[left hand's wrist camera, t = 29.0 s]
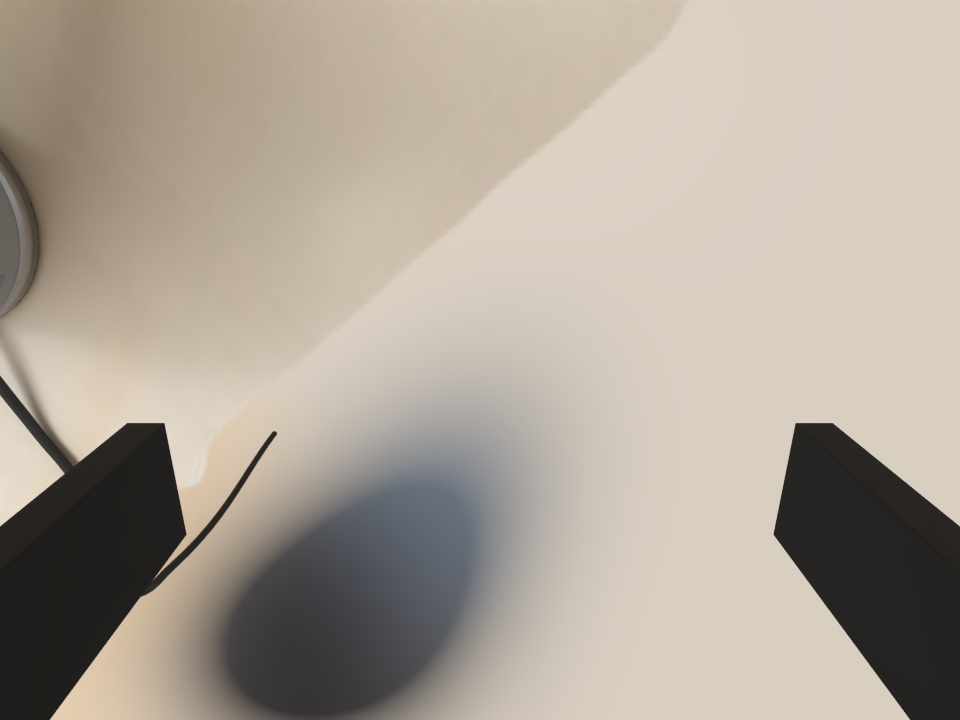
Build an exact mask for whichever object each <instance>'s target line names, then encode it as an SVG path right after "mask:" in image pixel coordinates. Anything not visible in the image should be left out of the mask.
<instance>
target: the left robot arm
mask: <svg viewBox="0 0 960 720" xmlns="http://www.w3.org/2000/svg"><path fill="white" fill-rule="evenodd" d="M38 253H39V236H38V229H37V223H36V218H35V214H34V211H33V208H32V205H31V202H30V199H29V197H28V194H27V192H26V190H25V188H24V186H23V184H22V182H21V180H20V178H19V177H18V175H17V173H16V172H15V170H14V169H13V167H12V166H11V164H10V163H9V162H8V160H7V159H6V157H5V156H4V155H3V154H2V153H1V151H0V317H1V316H3V315H4V314H6V313H7V312H8V311H10V310H11V309H12V308H13V307H14V306H15V305H16V304H17V303H18V302H19V301H20V300H21V299H22V297H23V296H24V295H25V293H26V291H27V290H28V288H29V286H30V284H31V282H32V280H33V277H34V274H35V271H36V267H37V261H38ZM0 395H1V397H2V398H3V399H4V400H5V402H6V403H7V404H8V405H9V407H10V408H11V409H12V410H13V412H14V413H15V414H16V415H17V416H18V418H19V419H20V420H21V421H22V423H23V424H24V425H25V426H26V428H27V429H28V430H29V431H30V433H31V434H32V435H33V436H34V438H35V439H36V440H37V441H38V442H39V444H40V445H41V446H42V447H43V448H44V449H45V451H46V452H47V453H48V454H49V455H50V456H51V457H52V459H53V460H54V461H55V462H56V463H57V464H58V466H59V467H60V468H61V469H62V471H63V472H64V473H65V474H64V475H63V476H62V477H61V478H59V479H58V480H57V481H56V482H54V483H53V484H52V485H51V486H50V487H48V488H47V489H46V490H45V491H43V492H42V493H41V494H40V495H38V496H37V497H36V498H35V499H33V500H32V501H31V502H30V503H29V504H27V505H26V506H25V507H24V508H22V509H21V510H20V511H19V512H17V513H16V514H15V515H14V516H13V517H11V518H10V519H9V520H8V521H6V522H5V523H4V524H3V525H1V526H0V720H50V719H51V717H52V716H53V715H54V713H55V712H56V710H57V709H58V708H59V706H60V705H61V704H62V702H63V701H64V700H65V698H66V697H67V696H68V694H69V693H70V692H71V690H72V689H73V688H74V686H75V685H76V683H77V682H78V681H79V679H80V678H81V677H82V675H83V674H84V673H85V671H86V670H87V669H88V667H89V666H90V664H91V663H92V662H93V660H94V659H95V658H96V656H97V655H98V654H99V652H100V651H101V650H102V648H103V647H104V645H105V644H106V643H107V641H108V640H109V639H110V637H111V636H112V635H113V633H114V632H115V631H116V629H117V628H118V626H119V625H120V624H121V622H122V621H123V620H124V618H125V617H126V616H127V614H128V613H129V612H130V610H131V609H132V608H133V606H134V605H135V604H136V602H137V601H138V599H139V598H140V597H142V596H145V595H147V594H149V593H150V592H152V591H153V590H155V589H156V588H157V587H158V586H159V585H160V584H161V583H162V582H163V581H164V580H165V579H166V578H167V577H168V575H169V574H170V573H171V572H172V571H174V570H175V569H176V568H177V567H178V566H179V565H180V564H181V563H182V562H183V561H184V560H185V559H186V558H187V557H188V556H189V555H190V554H191V553H192V552H193V551H194V550H195V549H196V548H197V546H198V545H199V544H200V543H201V542H202V541H203V540H204V539H205V538H206V536H207V535H208V534H209V533H210V532H211V530H212V529H213V528H214V527H215V525H216V524H217V523H218V521H219V520H220V519H221V518H222V516H223V515H224V513H225V512H226V511H227V509H228V508H229V507H230V505H231V504H232V502H233V501H234V499H235V498H236V496H237V495H238V493H239V492H240V490H241V488H242V487H243V485H244V484H245V482H246V480H247V479H248V477H249V476H250V474H251V473H252V471H253V469H254V468H255V466H256V465H257V463H258V461H259V460H260V458H261V457H262V455H263V454H264V452H265V451H266V449H267V448H268V446H269V445H270V443H271V442H272V441H273V439H274V438H275V437H276V435H277V432H276V431H273V432H272V433H271V434H270V436H269V437H268V438H267V440H266V441H265V442H264V444H263V445H262V447H261V448H260V450H259V451H258V453H257V454H256V456H255V457H254V459H253V460H252V462H251V463H250V465H249V466H248V468H247V469H246V471H245V472H244V474H243V476H242V477H241V479H240V480H239V482H238V483H237V485H236V486H235V488H234V489H233V491H232V492H231V494H230V495H229V497H228V498H227V499H226V501H225V502H224V504H223V505H222V506H221V508H220V509H219V511H218V512H217V513H216V514H215V516H214V517H213V518H212V519H211V521H210V522H209V523H208V525H207V526H206V527H205V528H204V529H203V530H202V531H201V532H200V534H199V535H198V536H197V537H196V538H195V539H194V540H193V541H192V542H191V543H190V544H189V545H188V546H187V547H186V548H185V549H184V551H182V552H181V553H180V554H179V555H178V556H177V557H176V558H175V559H174V560H173V561H172V562H171V563H170V564H169V565H167V566H166V567H165V568H164V569H163V570H162V571H161V572H160V573H159V574H158V572H159V571H160V570H161V568H162V567H163V566H164V564H165V563H166V562H167V560H168V559H169V557H170V556H171V555H172V553H173V552H174V551H175V549H176V548H177V547H178V545H179V544H180V543H181V541H182V540H183V539H184V537H185V536H186V530H185V525H184V520H183V515H182V510H181V505H180V500H179V495H178V490H177V485H176V480H175V475H174V470H173V465H172V460H171V455H170V449H169V444H168V439H167V434H166V429H165V424H164V423H127V424H126V425H125V426H123V427H122V428H121V429H120V430H118V431H117V432H116V433H115V434H114V435H112V436H111V437H110V438H109V439H107V440H106V441H105V442H104V443H102V444H101V445H100V446H99V447H98V448H96V449H95V450H94V451H93V452H91V453H90V454H89V455H88V456H86V457H85V458H84V459H83V460H82V461H80V462H79V463H78V464H77V465H75V466H74V467H73V465H72V464H71V463H70V462H69V460H68V459H67V458H66V457H65V455H64V454H63V453H62V452H61V451H60V450H59V448H58V447H57V446H56V445H55V444H54V443H53V442H52V440H51V439H50V438H49V437H48V436H47V434H46V433H45V432H44V431H43V429H42V428H41V427H40V425H39V424H38V423H37V422H36V420H35V419H34V418H33V417H32V415H31V414H30V413H29V412H28V410H27V409H26V408H25V407H24V405H23V404H22V403H21V402H20V400H19V399H18V398H17V397H16V395H15V394H14V393H13V391H12V390H11V389H10V388H9V386H8V385H7V384H6V383H5V381H4V380H3V379H2V377H1V376H0ZM774 536H775V537H776V539H777V540H778V541H779V543H780V544H781V545H782V547H783V548H784V549H785V551H786V552H787V553H788V555H789V556H790V557H791V559H792V560H793V562H794V563H795V564H796V566H797V567H798V568H799V570H800V571H801V572H802V574H803V575H804V576H805V578H806V579H807V581H808V582H809V583H810V585H811V586H812V587H813V589H814V590H815V591H816V593H817V594H818V595H819V597H820V598H821V599H822V601H823V602H824V604H825V605H826V606H827V608H828V609H829V610H830V612H831V613H832V614H833V616H834V617H835V618H836V620H837V621H838V622H839V624H840V625H841V626H842V628H843V629H844V631H845V632H846V633H847V635H848V636H849V637H850V639H851V640H852V641H853V643H854V644H855V645H856V647H857V648H858V650H859V651H860V652H861V654H862V655H863V656H864V658H865V659H866V660H867V662H868V663H869V664H870V666H871V667H872V669H873V670H874V671H875V673H876V674H877V675H878V677H879V678H880V679H881V681H882V682H883V683H884V685H885V686H886V687H887V689H888V690H889V692H890V693H891V694H892V696H893V697H894V698H895V700H896V701H897V702H898V704H899V705H900V706H901V708H902V709H903V710H904V712H905V713H906V715H907V716H908V717H909V719H910V720H960V526H959V525H957V524H956V523H955V522H954V521H952V520H951V519H950V518H949V517H947V516H946V515H945V514H944V513H943V512H941V511H940V510H939V509H938V508H936V507H935V506H934V505H933V504H931V503H930V502H929V501H928V500H926V499H925V498H924V497H923V496H921V495H920V494H919V493H918V492H917V491H915V490H914V489H913V488H912V487H910V486H909V485H908V484H907V483H906V482H904V481H903V480H902V479H901V478H899V477H898V476H897V475H896V474H894V473H893V472H892V471H891V470H890V469H888V468H887V467H886V466H885V465H883V464H882V463H881V462H880V461H878V460H877V459H876V458H875V457H874V456H872V455H871V454H870V453H869V452H867V451H866V450H865V449H864V448H862V447H861V446H860V445H859V444H858V443H856V442H855V441H854V440H853V439H851V438H850V437H849V436H848V435H846V434H845V433H844V432H843V431H842V430H840V429H839V428H838V427H837V426H835V425H834V424H833V423H796V424H795V429H794V434H793V439H792V444H791V449H790V455H789V460H788V465H787V470H786V475H785V480H784V485H783V490H782V495H781V500H780V505H779V510H778V515H777V520H776V525H775V530H774ZM157 574H158V575H157ZM156 575H157V576H156ZM155 576H156V578H155ZM154 578H155V579H154Z"/></svg>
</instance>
